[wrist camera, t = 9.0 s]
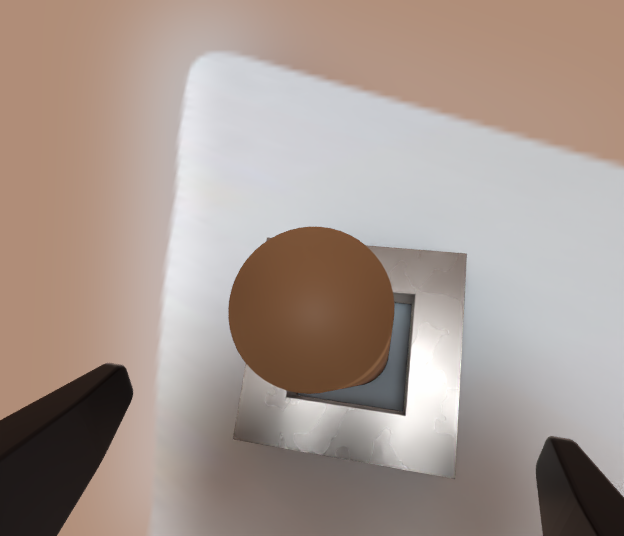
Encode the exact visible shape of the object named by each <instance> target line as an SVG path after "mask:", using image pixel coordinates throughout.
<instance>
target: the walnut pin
mask: <svg viewBox="0 0 624 536" xmlns="http://www.w3.org/2000/svg"><path fill="white" fill-rule="evenodd" d="M393 320H394V296H393V290H392V286H391V282H390V280H389V277H388V275H387V272H386V271H385V269H384V267H383V265H382V263H381V262H380V261H379V259H378V258H377V257H376V255H375V254H374V253H373V252H372V251H371V250H370V249H369V248H368V247H367V246H366V245H364V244H363V243H362V242H360V241H359V240H357V239H356V238H354V237H352V236H351V235H348V234H346V233H344V232H341V231H338V230H334V229H331V228H324V227H303V228H297V229H293V230H289V231H286V232H284V233H281V234H279V235H277V236H275V237H273V238H271V239H269V240H268V241H266V242H265V243H264V244H262V245H261V246H260V247H259V248H257V249H256V250H255V251H254V252H253V253H252V254H251V255H250V257H249V258H248V259H247V260H246V262H245V263H244V264H243V266H242V267H241V269H240V271H239V273H238V275H237V277H236V279H235V281H234V284H233V287H232V291H231V295H230V300H229V325H230V331H231V334H232V338H233V341H234V343H235V346H236V348H237V350H238V352H239V354H240V355H241V357H242V359H243V360H244V361H245V362H246V364H247V365H248V366H249V367H250V368H251V369H252V370H253V371H254V372H255V373H256V374H257V375H258V376H259V377H261V378H262V379H263V380H265V381H266V382H268V383H270V384H272V385H274V386H276V387H278V388H281V389H284V390H287V391H291V392H296V393H306V394H311V393H322V392H327V391H332V390H337V389H343V388H348V387H353V386H358V385H363V384H366V383H369V382H371V381H373V380H374V379H376V378H377V377H378V376H379V375H380V374H381V373H382V372H383V370H384V368H385V366H386V364H387V361H388V355H389V348H390V341H391V334H392V327H393Z"/></svg>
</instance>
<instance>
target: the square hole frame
mask: <svg viewBox="0 0 624 536" xmlns="http://www.w3.org/2000/svg"><path fill="white" fill-rule="evenodd" d="M269 239H271V238H267V241H268V240H269ZM367 247H368V248H369V249H370V250H371V251H372V252H373V253H374V254H375V255H376V257H377V258H378V259H379V261H380V262H381V263H382V265H383V267H384V269H385V271H386V272H387V275H388V277H389V280H390V282H391V286H392V290H393V296H394V302H395V303H405V304H412V310H411V322H410V335H409V347H408V359H407V371H406V383H405V396H404V408H403V411H397V410H390V409H384V408H377V407H371V406H364V405H357V404H351V403H344V402H338V401H331V400H325V399H318V398H312V397H305V396H299V395H297V394H298V393H296V392H291V391H287V390H284V389H281V388H278V387H276V386H274V385H272V384H270V383H268V382H266V381H265V380H263V379H262V378H261V377H259V376H258V375H257V374H256V373H255V372H254V371H253V370H252V369H251V368H250V367H249V366H248V365H247V364H246V365H245V371H244V377H243V383H242V389H241V395H240V401H239V407H238V412H237V418H236V424H235V430H234V436H233V439H235V440H240V441H246V442H252V443H257V444H263V445H268V446H274V447H279V448H285V449H291V450H296V451H302V452H307V453H313V454H319V455H324V456H330V457H335V458H341V459H347V460H352V461H358V462H363V463H369V464H374V465H380V466H386V467H391V468H397V469H402V470H408V471H414V472H419V473H425V474H430V475H436V476H441V477H447V478H453V479H455V466H456V447H457V428H458V409H459V390H460V371H461V352H462V334H463V315H464V296H465V277H466V258H467V254H464V253H451V252H439V251H427V250H414V249H402V248H389V247H377V246H367Z"/></svg>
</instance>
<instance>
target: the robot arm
mask: <svg viewBox="0 0 624 536" xmlns="http://www.w3.org/2000/svg"><path fill="white" fill-rule="evenodd" d="M132 397H133V388H132V385H131V382H130V379H129V376H128V372H127V370H126V368H125V367H124V366H123V365H119V364H113V363H106V364H103V365H101V366H99V367H98V368H96V369H94V370H92V371H90V372H88V373H87V374H85V375H83V376H81V377H79V378H77V379H76V380H74V381H72V382H70V383H68V384H66V385H64V386H63V387H61V388H59V389H57V390H55V391H54V392H52V393H50V394H48V395H46V396H44V397H43V398H41V399H39V400H37V401H35V402H33V403H31V404H29V405H28V406H26V407H24V408H22V409H20V410H19V411H17V412H15V413H13V414H11V415H9V416H7V417H6V418H4V419H2V420H0V536H57V535H58V533H59V532H60V530H61V528H62V527H63V525H64V523H65V522H66V520H67V518H68V517H69V515H70V513H71V512H72V510H73V508H74V507H75V505H76V503H77V502H78V500H79V499H80V497H81V495H82V494H83V492H84V490H85V489H86V487H87V485H88V484H89V482H90V480H91V479H92V477H93V475H94V474H95V472H96V470H97V469H98V467H99V465H100V463H101V462H102V460H103V458H104V456H105V454H106V452H107V450H108V448H109V446H110V444H111V442H112V440H113V438H114V436H115V434H116V431H117V429H118V427H119V425H120V423H121V421H122V419H123V417H124V415H125V413H126V411H127V409H128V407H129V405H130V403H131V400H132ZM536 480H537V488H538V497H539V506H540V514H541V523H542V531H543V536H624V497H623V496H622V495H621V494H620V492H619V491H618V490H617V489H616V488H615V487H614V486H613V484H612V483H611V482H610V481H609V480H608V479H607V478H606V476H605V475H604V474H603V473H602V472H601V471H600V470H599V468H598V467H597V466H596V465H595V464H594V463H593V462H592V460H591V459H590V458H589V457H588V456H587V455H586V454H585V452H584V451H583V450H582V449H581V448H580V447H579V446H578V444H577V443H575V442H574V441H573V440H571V439H566V438H560V437H554V436H550V437H548V438H547V440H546V442H545V444H544V446H543V449H542V451H541V454H540V456H539V458H538V461H537V464H536Z"/></svg>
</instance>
